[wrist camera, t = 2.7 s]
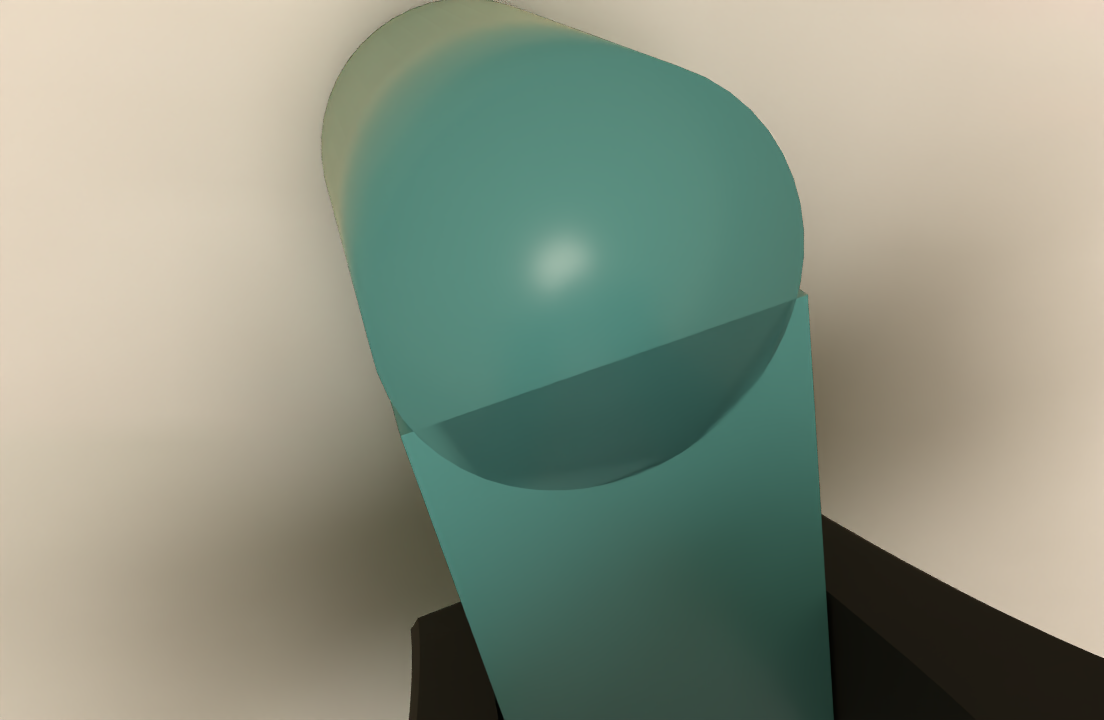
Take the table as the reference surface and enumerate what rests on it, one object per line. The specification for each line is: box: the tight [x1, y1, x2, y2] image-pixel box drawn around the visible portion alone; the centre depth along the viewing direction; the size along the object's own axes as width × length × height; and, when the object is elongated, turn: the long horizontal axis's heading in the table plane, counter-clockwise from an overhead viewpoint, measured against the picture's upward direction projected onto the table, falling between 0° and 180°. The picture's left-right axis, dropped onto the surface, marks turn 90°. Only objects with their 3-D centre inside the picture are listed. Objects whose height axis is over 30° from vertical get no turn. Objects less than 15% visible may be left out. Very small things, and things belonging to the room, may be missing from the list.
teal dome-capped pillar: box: [321, 0, 834, 720], centre depth 10 cm, size 13×3×4 cm, turn 12°
